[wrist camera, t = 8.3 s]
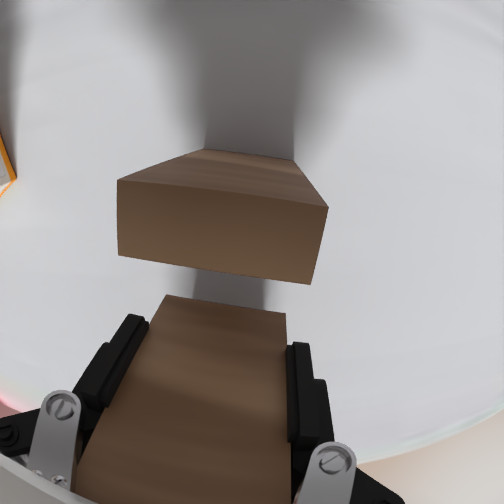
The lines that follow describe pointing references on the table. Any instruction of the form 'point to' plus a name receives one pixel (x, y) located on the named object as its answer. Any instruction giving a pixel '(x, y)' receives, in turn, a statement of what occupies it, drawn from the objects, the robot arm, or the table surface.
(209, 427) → the domino
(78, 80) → the table surface
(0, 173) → the supplement box
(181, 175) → the domino
